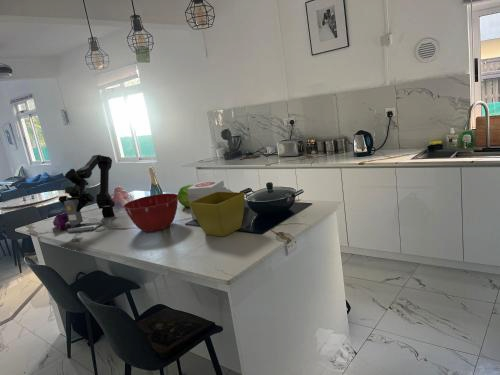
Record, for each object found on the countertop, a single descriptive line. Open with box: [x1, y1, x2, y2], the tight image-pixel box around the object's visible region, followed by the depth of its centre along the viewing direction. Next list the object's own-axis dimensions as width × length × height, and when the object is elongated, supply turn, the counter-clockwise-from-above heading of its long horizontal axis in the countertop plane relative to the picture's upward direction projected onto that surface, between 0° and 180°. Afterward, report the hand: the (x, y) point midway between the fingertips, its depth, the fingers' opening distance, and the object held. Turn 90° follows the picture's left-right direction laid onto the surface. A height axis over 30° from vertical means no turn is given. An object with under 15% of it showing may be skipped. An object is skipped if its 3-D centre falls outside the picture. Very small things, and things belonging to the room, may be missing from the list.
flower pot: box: [190, 191, 245, 237], centre depth 175 cm, size 19×19×17 cm
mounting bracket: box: [52, 212, 74, 231], centre depth 230 cm, size 10×9×19 cm
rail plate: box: [67, 220, 103, 234], centre depth 218 cm, size 16×10×3 cm, turn 81°
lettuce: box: [177, 184, 194, 208], centre depth 229 cm, size 15×22×15 cm
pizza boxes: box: [187, 180, 233, 221], centre depth 207 cm, size 19×30×18 cm, turn 139°
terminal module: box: [63, 199, 84, 226], centre depth 204 cm, size 5×6×13 cm
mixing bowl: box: [123, 193, 179, 233], centre depth 197 cm, size 28×28×16 cm
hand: (72, 212), depth 204 cm, fingers closed on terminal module, 5 cm apart
